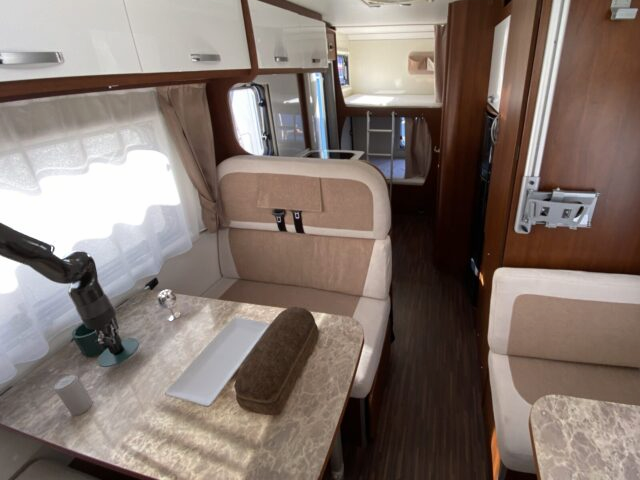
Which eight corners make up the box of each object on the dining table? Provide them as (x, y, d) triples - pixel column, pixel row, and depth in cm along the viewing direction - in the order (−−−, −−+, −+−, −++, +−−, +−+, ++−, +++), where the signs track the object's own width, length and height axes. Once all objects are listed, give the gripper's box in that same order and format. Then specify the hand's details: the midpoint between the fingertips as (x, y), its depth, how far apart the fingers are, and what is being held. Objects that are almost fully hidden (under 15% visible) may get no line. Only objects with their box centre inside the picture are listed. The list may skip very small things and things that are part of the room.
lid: (95, 374, 97) (84, 358, 94) (103, 349, 106) (94, 333, 103) (137, 358, 102) (128, 341, 99) (141, 335, 110) (134, 319, 108)
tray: (273, 329, 116) (271, 322, 114) (211, 414, 88) (208, 406, 86) (236, 322, 120) (234, 315, 118) (166, 401, 92) (162, 393, 90)
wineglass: (167, 313, 126) (158, 290, 121) (183, 309, 128) (174, 286, 123) (163, 323, 121) (153, 300, 116) (180, 319, 123) (170, 296, 118)
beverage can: (95, 405, 92) (78, 378, 87) (75, 420, 88) (55, 393, 83) (90, 397, 94) (73, 370, 89) (69, 411, 90) (50, 384, 86)
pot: (79, 362, 106) (67, 342, 102) (87, 341, 114) (76, 323, 110) (115, 348, 111) (104, 329, 107) (120, 330, 119) (111, 311, 115)
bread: (233, 413, 88) (220, 376, 82) (288, 327, 116) (280, 294, 110) (278, 423, 85) (268, 385, 79) (323, 332, 113) (317, 299, 107)
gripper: (86, 300, 100) (107, 338, 106) (72, 329, 88) (97, 369, 95) (115, 291, 103) (133, 329, 110) (105, 318, 92) (126, 358, 99)
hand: (116, 347), depth 102 cm, fingers closed on lid, 3 cm apart
